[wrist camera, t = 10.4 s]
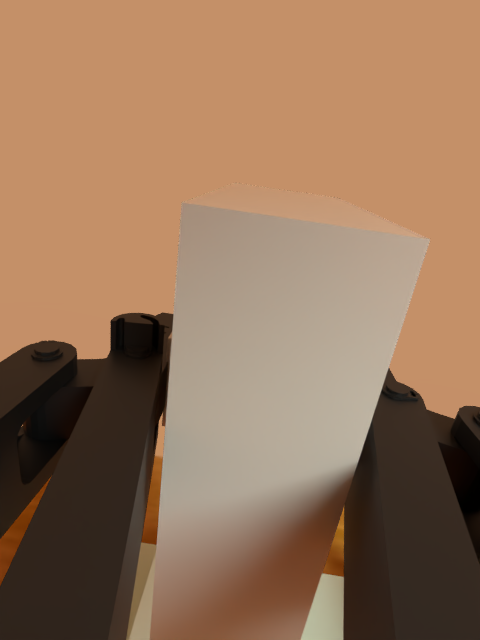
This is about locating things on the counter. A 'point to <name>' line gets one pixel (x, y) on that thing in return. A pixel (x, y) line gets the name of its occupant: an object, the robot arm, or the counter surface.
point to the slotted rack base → (320, 629)
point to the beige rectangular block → (269, 401)
